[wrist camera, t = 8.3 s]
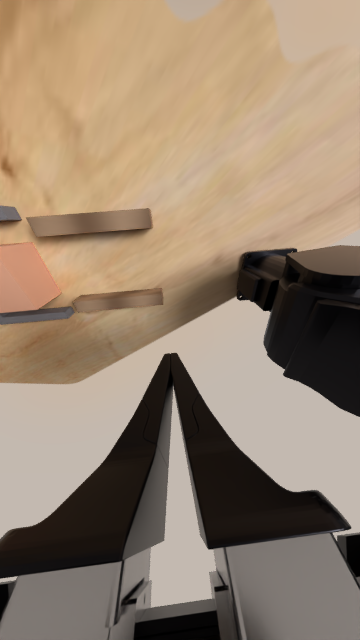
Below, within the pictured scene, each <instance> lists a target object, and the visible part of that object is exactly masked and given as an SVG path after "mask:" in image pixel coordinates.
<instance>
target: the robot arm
mask: <svg viewBox="0 0 360 640" xmlns="http://www.w3.org/2000/svg"><path fill="white" fill-rule="evenodd" d="M292 251H293V252H292ZM291 252H292V253H291ZM249 254H250V257H249V258H247V256H248V255H249ZM237 289H238V293H237V299H238V300H240V301H241V300H250V301H251V302H254V303H256V304H257V305H258V306H259V307H260V308H261V309H262V310H263V311H270V312H271V313H270V318H269V321H268V324H267V328H266V332H265V335H264V346H265V348H266V351H267V355H268V357H269V358H270V359H271V360H272V361H273V362H275V363H276V364H277V365H279V366H281V367H282V368H283V369H285V371H284V373H283V375H284V376H285V377H287V378H290V379H293V380H296V381H299V382H301V383H302V384H304V385H306V386H309V387H310V388H312V389H313V390H315V391H317V392H318V393H320V394H321V395H322V396H324V397H325V398H327V399H328V400H329V401H331V402H332V403H334V404H335V405H336V406H338V407H339V408H341V409H343V410H345V411H347V412H350V413H352V414H354V415H356V416H359V417H360V246H341V245H340V246H332V247H326V248H320V249H313V250H307V251H301V252H297V249H295V248H286V249H274V250H263V251H251V252H247V253H245V255H244V259H243V264H242V269H241V271H240V274H239V280H238V286H237ZM240 296H242V297H241V298H240ZM173 386H174V391H175V397H176V403H177V408H178V414H179V419H180V425H181V430H182V435H183V441H184V447H185V452H186V458H187V464H188V469H189V475H190V480H191V486H192V491H193V497H194V502H195V508H196V514H197V519H198V525H199V530H200V536H201V537H202V539H203V541H204V543H205V545H206V546H207V548H208V549H214V556H215V563H216V571H214V572H209V575H210V583H211V591H212V599H207V600H200V601H194V602H187V603H180V604H173V605H167V606H160V607H154V608H150V607H151V584H152V583H151V580H150V581H149V570H150V549H151V547H152V546H154V545H156V544H158V543H160V542H162V541H164V533H165V516H166V500H167V483H168V466H169V448H170V432H171V414H172V399H173ZM349 529H351V526H350V524H349V523H348V522H347V520H346V519H345V518H344V517H343V515H342V514H341V513H340V512H339V511H338V510H337V509H336V508H335V507H334V506H333V505H332V504H331V503H330V502H329V500H327V498H326V497H325V496H324V495H323V494H322V493H321V492H319V491H317V490H310V491H301V492H292V491H289V490H286V489H285V488H283V487H281V486H280V485H278V484H277V483H276V482H275V481H274V480H273V479H272V478H271V477H269V476H268V475H267V474H266V473H265V472H264V471H263V470H262V469H261V468H260V467H259V466H257V465H256V464H255V463H254V462H253V461H252V460H251V459H250V458H249V457H248V456H247V455H245V454H244V453H243V452H242V451H241V450H240V449H239V448H238V447H237V446H236V445H235V443H234V442H233V441H232V440H231V438H230V437H229V436H228V434H227V433H226V432H225V430H224V429H223V427H222V426H221V425H220V424H219V422H218V421H217V419H216V418H215V417H214V415H213V414H212V412H211V411H210V409H209V408H208V406H207V405H206V403H205V402H204V400H203V398H202V396H201V395H200V394H199V391H198V390H197V388H196V386H195V384H194V383H193V381H192V379H191V377H190V375H189V374H188V372H187V370H186V368H185V367H184V365H183V363H182V362H181V360H180V358H179V356H178V354H177V353H171V354H169V353H168V354H165V355H164V356H163V358H162V360H161V362H160V364H159V366H158V368H157V371H156V372H155V374H154V376H153V378H152V380H151V382H150V384H149V386H148V388H147V390H146V392H145V394H144V396H143V399H142V400H141V402H140V404H139V406H138V408H137V410H136V411H135V413H134V415H133V417H132V419H131V420H130V422H129V423H128V425H127V427H126V428H125V430H124V431H123V433H122V435H121V436H120V438H119V439H118V441H117V442H116V444H115V445H114V447H113V449H112V450H111V452H110V453H109V455H108V456H107V458H106V459H105V460H104V461H103V463H102V464H101V465H100V466H99V467H98V468H97V469H96V470H95V471H94V472H93V473H92V474H91V475H90V476H89V477H88V478H87V479H86V480H85V481H84V482H83V483H82V484H81V485H80V486H79V487H78V488H77V489H76V490H75V491H74V492H73V493H72V494H71V495H70V496H69V497H68V498H67V499H66V500H65V501H64V502H63V503H62V504H61V505H60V506H59V507H58V508H57V509H56V510H55V511H54V512H53V513H52V514H51V515H50V516H48V517H47V518H46V519H44V520H43V521H42V522H40V523H38V524H36V525H34V526H30V527H23V528H16V529H12V530H9V531H8V532H7V533H6V534H5V535H4V536H3V537H2V538H1V539H0V578H8V577H14V576H18V577H17V579H16V580H15V581H8V582H1V583H0V640H360V533H353V534H345V535H338V536H337V541H336V539H335V538H334V535H333V532H339V531H345V530H349Z"/></svg>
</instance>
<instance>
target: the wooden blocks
mask: <svg viewBox="0 0 360 640" xmlns="http://www.w3.org/2000/svg"><path fill="white" fill-rule="evenodd" d="M26 219H27V221H28V222H29V224H30V226H31V228H32V230H33V231H34V233H35V235H36V237H41V236H54V235H67V234H79V233H92V232H105V231H118V230H130V229H143V228H153V223H152V216H151V210H150V209H149V208H147V209H134V210H120V211H107V212H94V213H80V214H67V215H53V216H40V217H27V218H26ZM73 304H74V306H75V308H76V309H77V311H78V313H79V312H89V311H100V310H111V309H122V308H132V307H143V306H154V305H163V293H162V288H158V289H147V290H136V291H124V292H113V293H102V294H91V295H81V296H79V297H78V298H77V299H76V300H75V301H73Z"/></svg>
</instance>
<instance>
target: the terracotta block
mask: <svg viewBox="0 0 360 640" xmlns="http://www.w3.org/2000/svg"><path fill="white" fill-rule="evenodd" d="M60 294H61V291H60V289H59V288H58V286H57V284H56V282H55V281H54V279H53V277H52V275H51V274H50V272H49V270H48V268H47V267H46V265H45V263H44V262H43V260H42V258H41V256H40V255H39V253H38V251H37V249H36V248H35V246H34V244H33V242H29V243H16V244H3V245H0V313H6V312H17V311H28V310H37V309H39V308H40V307H42V306H43V305H45V304H46V303H48V302H49V301H51V300H52V299H54V298H55V297H57V296H58V295H60Z"/></svg>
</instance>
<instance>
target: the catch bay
mask: <svg viewBox="0 0 360 640" xmlns="http://www.w3.org/2000/svg"><path fill="white" fill-rule="evenodd" d="M12 220H22V219H21V217H20V216H19V214H18V212H17V210H16V209H15V207H8V206H0V221H12ZM74 313H75V312H74V311H73V309H72V307H61V308H50V309H39V310H28V311H17V312H6V313H0V324H1V325H3V324H13V323H24V322H35V321H45V320H56V319H66V318H70V317H71V316H72V315H73V314H74Z"/></svg>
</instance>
